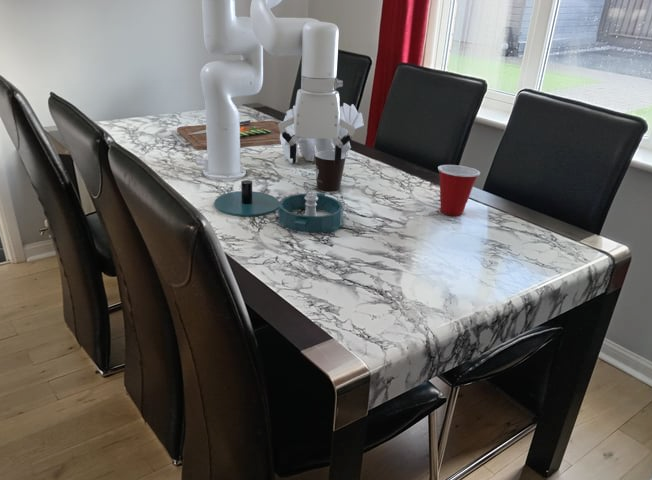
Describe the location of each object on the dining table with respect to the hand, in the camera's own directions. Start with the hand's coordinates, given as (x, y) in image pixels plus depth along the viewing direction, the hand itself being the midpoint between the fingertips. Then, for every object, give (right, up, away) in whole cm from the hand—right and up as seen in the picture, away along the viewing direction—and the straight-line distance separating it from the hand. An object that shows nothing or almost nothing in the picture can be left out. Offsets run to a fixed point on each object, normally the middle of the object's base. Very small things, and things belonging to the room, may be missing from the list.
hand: (315, 162), depth 133 cm
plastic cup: (+36, -9, +22) cm, 43 cm away
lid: (-18, -7, +17) cm, 26 cm away
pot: (-1, -12, +11) cm, 16 cm away
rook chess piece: (-1, -14, +7) cm, 16 cm away
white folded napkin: (0, +13, +56) cm, 58 cm away
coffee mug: (+4, 0, +33) cm, 33 cm away
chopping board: (-28, +26, +77) cm, 86 cm away
